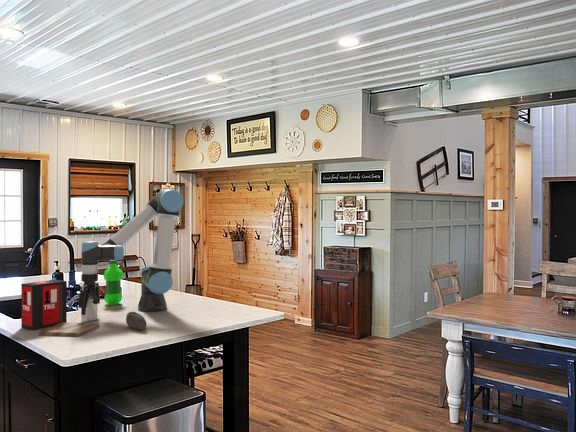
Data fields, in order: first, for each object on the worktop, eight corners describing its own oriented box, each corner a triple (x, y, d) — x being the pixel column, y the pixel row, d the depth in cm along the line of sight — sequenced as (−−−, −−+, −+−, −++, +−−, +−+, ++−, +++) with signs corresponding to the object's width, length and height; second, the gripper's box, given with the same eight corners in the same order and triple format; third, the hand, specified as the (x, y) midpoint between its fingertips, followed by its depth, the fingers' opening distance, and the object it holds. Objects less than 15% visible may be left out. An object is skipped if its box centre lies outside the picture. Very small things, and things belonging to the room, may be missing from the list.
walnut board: (99, 326, 230) (99, 323, 230) (78, 336, 212) (78, 332, 212) (62, 325, 232) (62, 322, 232) (38, 335, 214) (38, 331, 214)
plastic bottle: (99, 305, 282) (99, 260, 282) (112, 302, 292) (112, 259, 292) (113, 306, 279) (113, 261, 278) (126, 303, 288) (126, 259, 288)
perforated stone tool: (150, 331, 222) (150, 315, 222) (139, 333, 218) (139, 317, 218) (136, 325, 233) (136, 310, 233) (125, 327, 230) (125, 312, 229)
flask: (84, 318, 248) (84, 298, 248) (99, 318, 249) (99, 297, 249) (79, 321, 241) (79, 300, 241) (95, 321, 242) (95, 300, 241)
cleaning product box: (55, 321, 241) (55, 279, 241) (66, 323, 236) (66, 281, 236) (21, 328, 227) (21, 283, 227) (32, 330, 222) (32, 285, 222)
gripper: (93, 270, 256) (93, 314, 256) (70, 275, 234) (70, 323, 234) (107, 270, 255) (107, 314, 255) (85, 276, 233) (85, 324, 234)
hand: (89, 319), depth 245 cm, fingers open, 9 cm apart
